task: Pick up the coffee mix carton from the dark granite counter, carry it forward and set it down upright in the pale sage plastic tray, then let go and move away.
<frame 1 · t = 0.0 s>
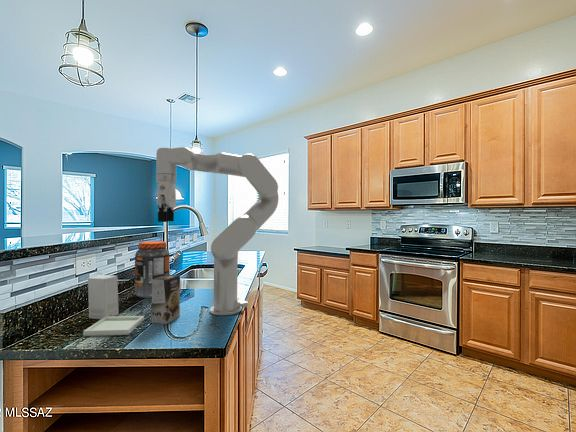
hand: (166, 221, 125), 37 cm above the countertop, tool pointing down, fingers open, 9 cm apart
tray: (115, 327, 108), on the countertop
supplement tub: (152, 294, 152), on the countertop
coffee box: (166, 320, 116), on the countertop
skincare box: (103, 317, 119), on the countertop
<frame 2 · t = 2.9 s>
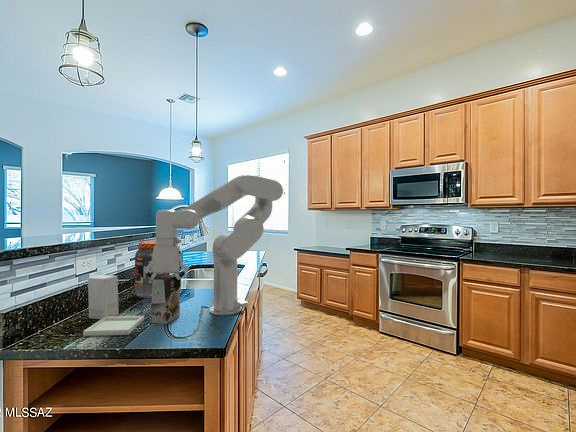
hand: (166, 289, 116), 11 cm above the countertop, tool pointing down, fingers closed on coffee box, 7 cm apart
coffee box: (166, 320, 116), on the countertop, touching gripper
everything else where it was.
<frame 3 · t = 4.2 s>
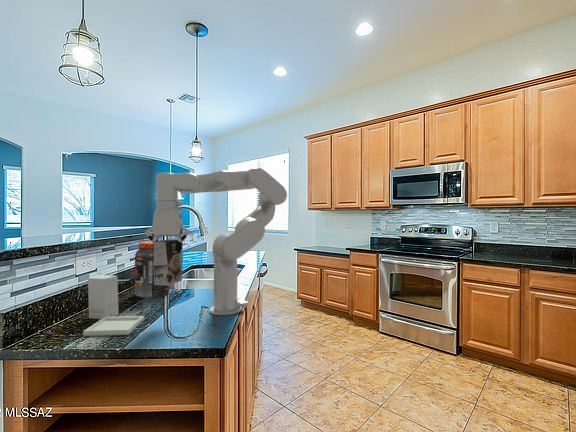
hand: (168, 252, 116), 25 cm above the countertop, tool pointing down, fingers closed on coffee box, 7 cm apart
coffee box: (168, 283, 116), point 14 cm above the countertop, touching gripper
everything else where it was.
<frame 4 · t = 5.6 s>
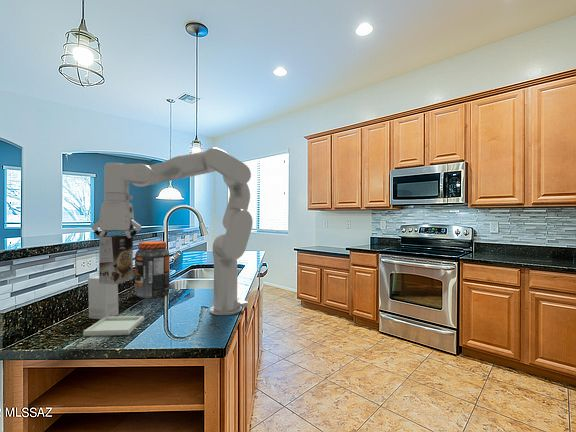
hand: (116, 248, 108), 27 cm above the countertop, tool pointing down, fingers closed on coffee box, 7 cm apart
coffee box: (116, 282, 108), point 16 cm above the countertop, touching gripper
everything else where it was.
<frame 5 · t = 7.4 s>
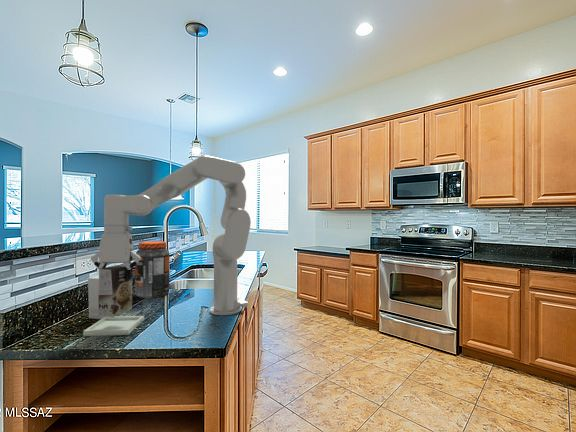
hand: (116, 280, 108), 16 cm above the countertop, tool pointing down, fingers closed on coffee box, 7 cm apart
coffee box: (115, 313, 108), point 5 cm above the countertop, touching gripper
everything else where it was.
when the fingers open (13 cm above the countertop, at t = 8.8 s): coffee box stays where it is, resting on tray.
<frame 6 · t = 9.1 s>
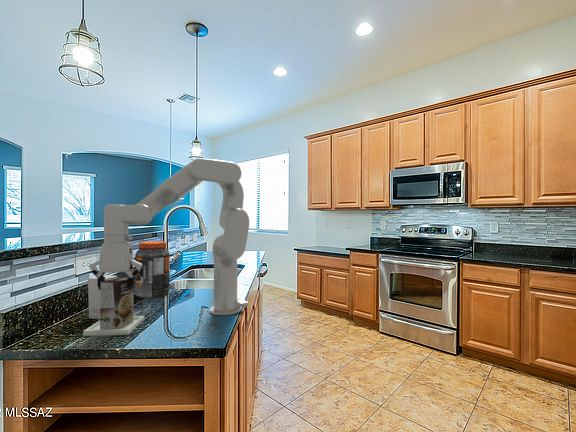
hand: (116, 288, 108), 14 cm above the countertop, tool pointing down, fingers open, 9 cm apart
coffee box: (117, 326, 108), resting on tray
everything else where it was.
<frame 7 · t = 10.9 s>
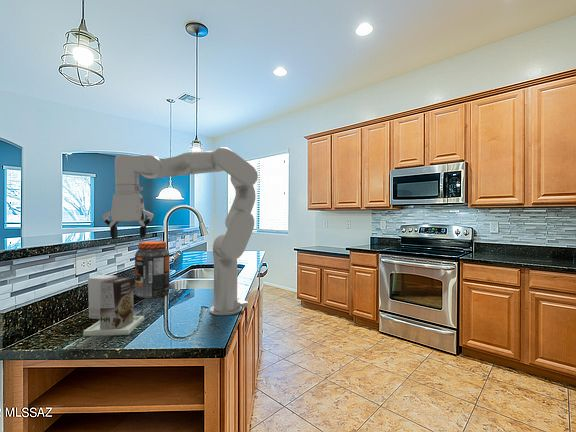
hand: (128, 237, 111), 31 cm above the countertop, tool pointing down, fingers open, 9 cm apart
nothing on the countertop moved.
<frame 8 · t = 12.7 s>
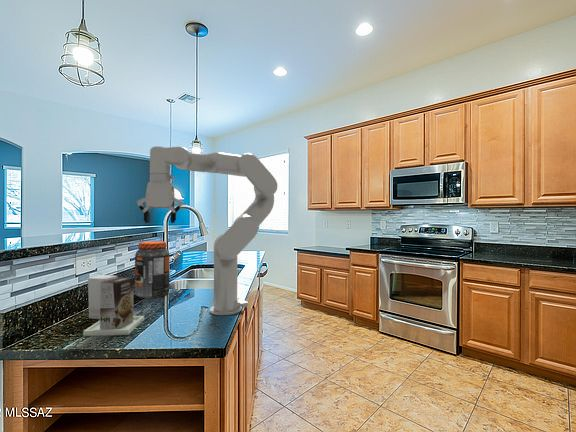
hand: (160, 222, 121), 36 cm above the countertop, tool pointing down, fingers open, 9 cm apart
nothing on the countertop moved.
at the end: coffee box inside the target area on the tray (0.4 cm from its centre), point 0.4 cm above the tray's base; coffee box tilted 0°; the gripper is holding nothing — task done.
